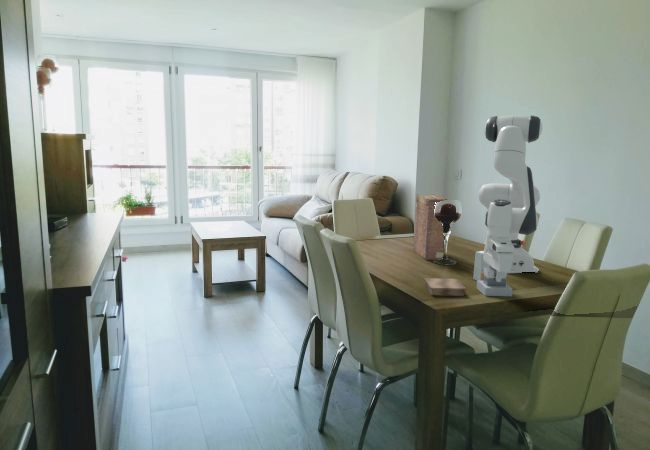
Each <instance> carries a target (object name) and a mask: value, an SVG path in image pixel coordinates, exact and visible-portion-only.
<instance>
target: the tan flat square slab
mask: <svg viewBox="0 0 650 450" xmlns="http://www.w3.org/2000/svg"><path fill="white" fill-rule="evenodd" d="M423 280H424V281H425V282H424V283H425V284H424V286H425V288H426V290H427V291H428V292H429V293H430V295H431V296H453V297H455V296H456V297H464V296H465V291H467V288H466V286H464V285H463V283H462V282H460V280H459V279H457V278H435V277H432V278H431V277H430V278H429V277H424V278H423Z"/></svg>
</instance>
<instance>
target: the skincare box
mask: <svg viewBox="0 0 650 450" xmlns="http://www.w3.org/2000/svg"><path fill="white" fill-rule="evenodd" d="M474 255H475V256H474V265H473V266H474V268H473V277H472V278H473V280H474V281H477V280H479V281H483V280H484V267H488V264H487V263H486V262H484V260H483V255H484V250H480V251H478V250H477V251H475V254H474Z"/></svg>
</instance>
